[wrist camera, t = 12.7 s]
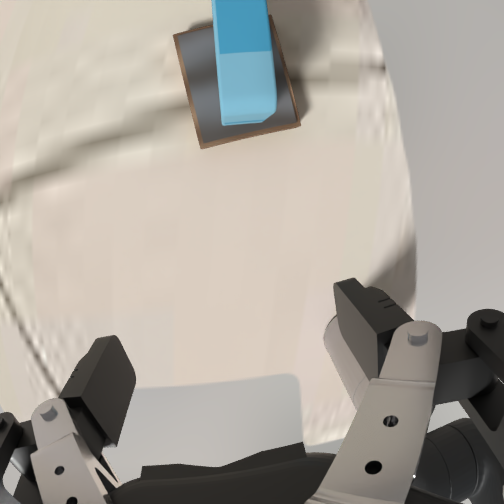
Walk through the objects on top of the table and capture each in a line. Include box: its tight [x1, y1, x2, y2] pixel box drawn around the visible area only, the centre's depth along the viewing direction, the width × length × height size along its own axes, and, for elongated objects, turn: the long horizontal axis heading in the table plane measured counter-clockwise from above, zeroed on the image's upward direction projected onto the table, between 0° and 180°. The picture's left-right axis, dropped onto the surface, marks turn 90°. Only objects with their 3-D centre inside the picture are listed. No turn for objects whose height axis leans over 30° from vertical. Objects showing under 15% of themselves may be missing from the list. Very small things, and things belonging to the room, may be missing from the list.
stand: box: [173, 15, 301, 149], centre depth 35 cm, size 15×12×4 cm
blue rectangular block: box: [212, 0, 277, 126], centre depth 28 cm, size 12×4×12 cm, turn 5°
